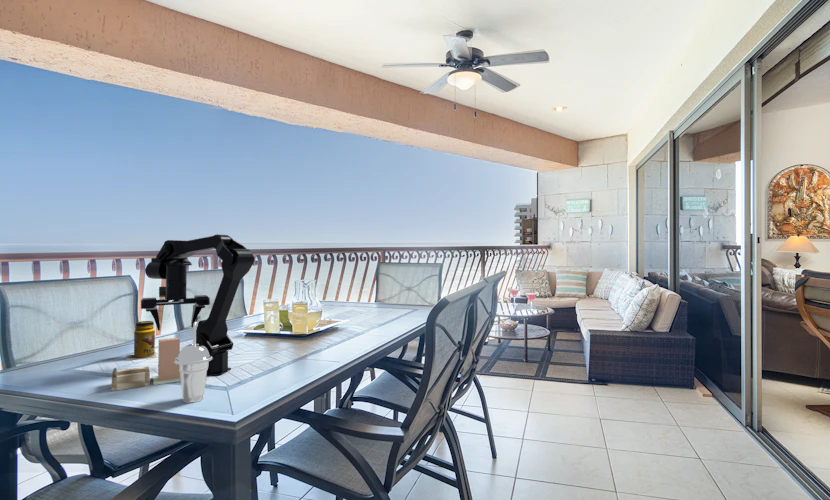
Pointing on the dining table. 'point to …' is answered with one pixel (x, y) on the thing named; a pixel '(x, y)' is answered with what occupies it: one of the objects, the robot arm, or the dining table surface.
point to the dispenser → (130, 378)
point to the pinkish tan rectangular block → (168, 358)
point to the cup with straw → (193, 369)
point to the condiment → (143, 341)
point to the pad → (157, 382)
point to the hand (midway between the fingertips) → (175, 328)
